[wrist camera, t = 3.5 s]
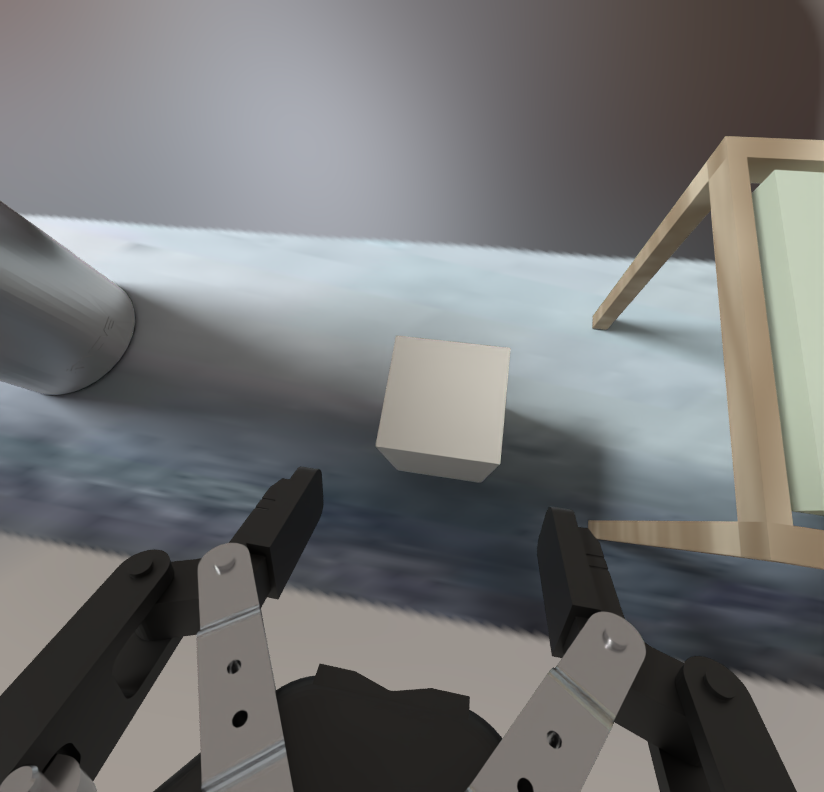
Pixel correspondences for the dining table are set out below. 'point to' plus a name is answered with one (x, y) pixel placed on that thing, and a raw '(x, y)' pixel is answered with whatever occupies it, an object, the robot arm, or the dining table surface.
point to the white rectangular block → (444, 408)
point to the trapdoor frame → (731, 357)
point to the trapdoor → (796, 321)
